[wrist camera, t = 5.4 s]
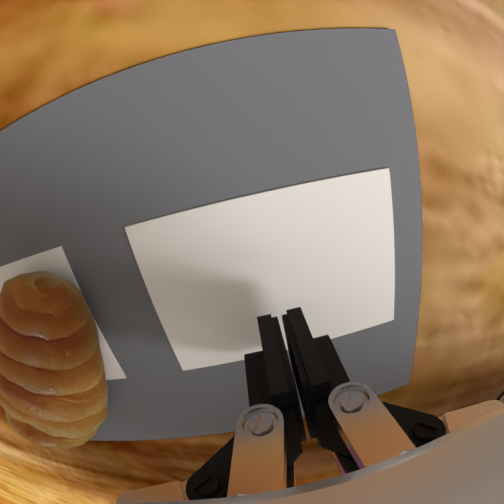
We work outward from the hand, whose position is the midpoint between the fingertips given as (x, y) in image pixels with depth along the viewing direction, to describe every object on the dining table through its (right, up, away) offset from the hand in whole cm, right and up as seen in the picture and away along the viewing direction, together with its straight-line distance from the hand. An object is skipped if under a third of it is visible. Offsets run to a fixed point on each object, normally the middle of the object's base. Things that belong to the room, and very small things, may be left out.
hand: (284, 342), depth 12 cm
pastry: (-11, -2, +1) cm, 12 cm away
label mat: (-7, +1, +1) cm, 7 cm away
